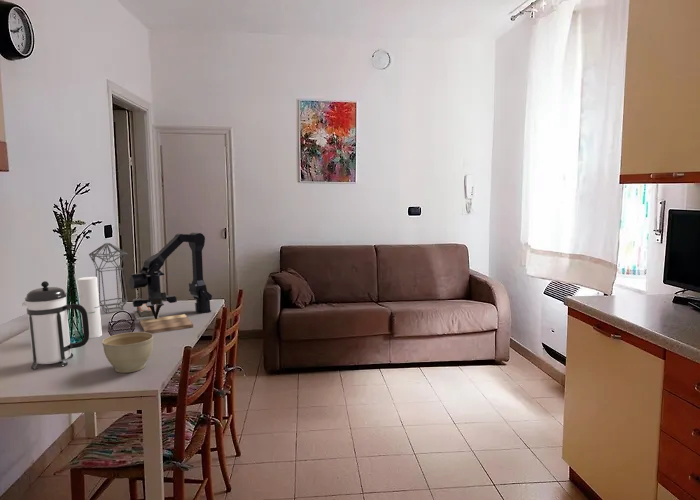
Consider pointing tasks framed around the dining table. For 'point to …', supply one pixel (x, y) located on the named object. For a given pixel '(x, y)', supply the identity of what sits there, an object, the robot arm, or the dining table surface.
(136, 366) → the planter bowl
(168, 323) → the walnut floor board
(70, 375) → the dining table surface
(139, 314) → the packaged product
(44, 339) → the coffee press
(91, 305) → the cylindrical container
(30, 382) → the dining table surface
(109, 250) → the geometric lantern
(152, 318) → the oak plank
